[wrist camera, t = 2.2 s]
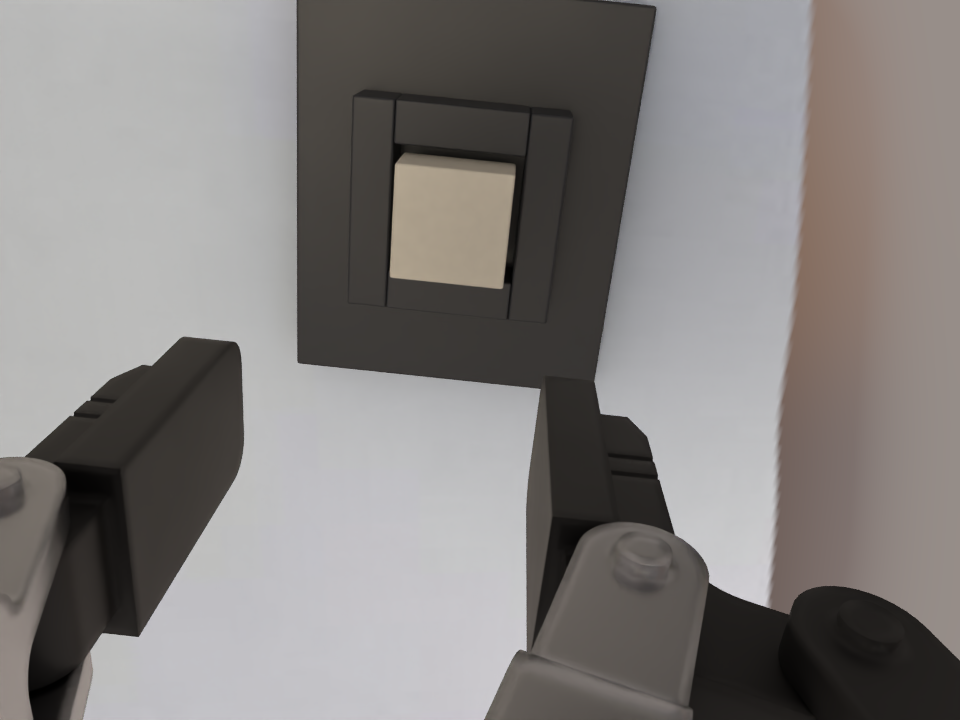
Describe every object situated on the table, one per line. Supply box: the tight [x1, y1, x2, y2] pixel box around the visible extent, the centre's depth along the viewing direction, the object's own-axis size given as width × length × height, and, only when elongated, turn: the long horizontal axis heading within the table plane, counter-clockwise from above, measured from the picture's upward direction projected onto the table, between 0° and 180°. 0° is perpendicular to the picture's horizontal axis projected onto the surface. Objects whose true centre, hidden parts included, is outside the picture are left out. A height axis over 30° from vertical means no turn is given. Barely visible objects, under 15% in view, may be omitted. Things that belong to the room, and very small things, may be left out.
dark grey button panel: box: [297, 0, 657, 389], centre depth 24 cm, size 12×10×3 cm
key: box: [390, 152, 516, 289], centre depth 22 cm, size 3×3×2 cm
